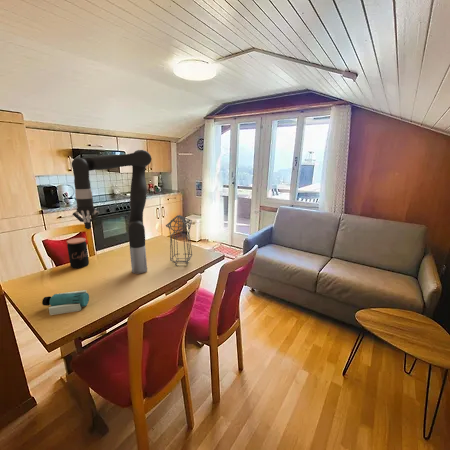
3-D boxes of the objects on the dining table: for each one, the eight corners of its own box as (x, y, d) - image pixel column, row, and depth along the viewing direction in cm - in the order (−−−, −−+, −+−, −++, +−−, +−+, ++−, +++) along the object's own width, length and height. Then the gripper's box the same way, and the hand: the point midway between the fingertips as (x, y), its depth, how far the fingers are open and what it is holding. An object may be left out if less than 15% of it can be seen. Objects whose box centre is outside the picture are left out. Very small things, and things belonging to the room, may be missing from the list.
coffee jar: (72, 270, 146) (67, 243, 141) (69, 265, 154) (65, 239, 149) (90, 266, 153) (87, 240, 148) (87, 261, 160) (84, 236, 156)
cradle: (87, 295, 118) (86, 289, 117) (80, 310, 106) (79, 304, 105) (59, 299, 114) (58, 293, 114) (49, 315, 103) (48, 308, 102)
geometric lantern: (190, 268, 152) (188, 218, 143) (167, 268, 153) (163, 217, 144) (194, 259, 168) (192, 212, 158) (173, 259, 168) (170, 212, 159)
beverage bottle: (85, 305, 105) (37, 307, 102) (91, 307, 111) (46, 309, 108) (88, 291, 108) (41, 292, 105) (93, 293, 114) (49, 294, 111)
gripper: (99, 196, 126) (103, 226, 130) (71, 196, 122) (76, 227, 126) (96, 198, 119) (100, 229, 123) (67, 198, 115) (72, 231, 119)
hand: (88, 228), depth 125 cm, fingers closed
